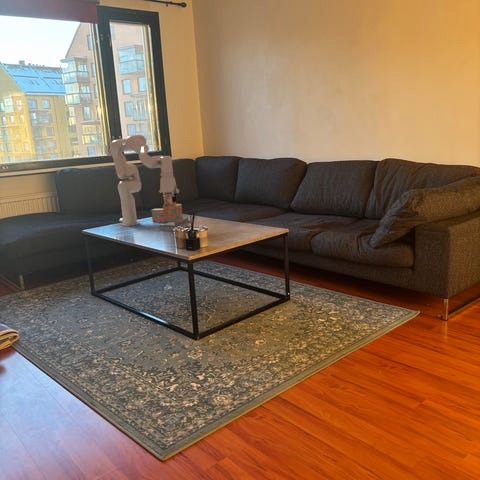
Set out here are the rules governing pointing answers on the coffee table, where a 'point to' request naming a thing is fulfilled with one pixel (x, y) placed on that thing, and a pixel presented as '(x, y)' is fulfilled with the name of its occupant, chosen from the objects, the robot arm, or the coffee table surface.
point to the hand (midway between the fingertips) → (170, 202)
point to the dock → (173, 224)
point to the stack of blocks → (167, 213)
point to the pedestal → (168, 200)
